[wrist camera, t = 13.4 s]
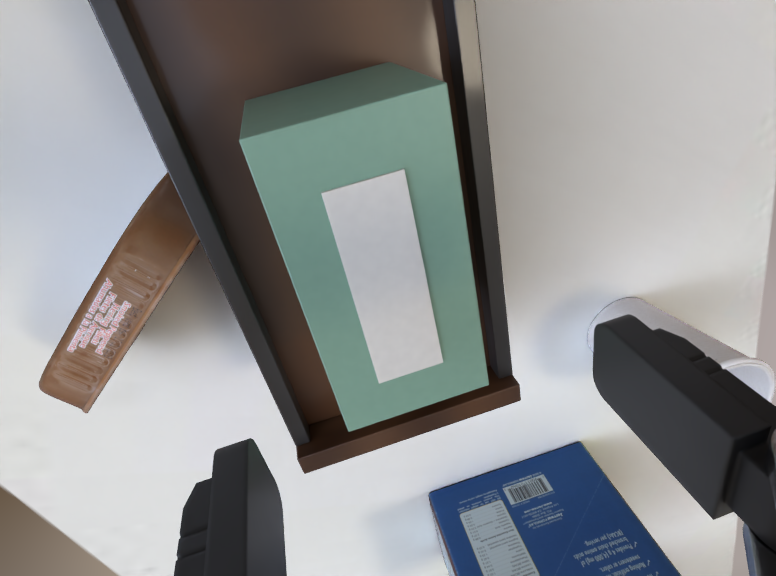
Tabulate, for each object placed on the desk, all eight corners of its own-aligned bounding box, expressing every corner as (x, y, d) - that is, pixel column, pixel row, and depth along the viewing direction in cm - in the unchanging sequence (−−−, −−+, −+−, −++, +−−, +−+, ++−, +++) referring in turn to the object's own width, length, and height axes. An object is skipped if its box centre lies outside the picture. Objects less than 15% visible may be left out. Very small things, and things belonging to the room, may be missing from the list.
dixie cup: (684, 309, 40) (799, 389, 32) (612, 382, 42) (701, 474, 34) (626, 264, 36) (739, 340, 28) (551, 346, 39) (634, 440, 30)
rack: (292, 357, 33) (304, 474, 25) (118, -64, 21) (23, -116, 12) (456, 305, 34) (521, 400, 26) (385, -125, 22) (465, -213, 13)
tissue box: (327, 334, 24) (348, 434, 18) (244, 100, 18) (238, 140, 12) (436, 299, 24) (490, 386, 18) (390, 61, 18) (448, 82, 13)
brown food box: (129, 348, 31) (77, 452, 24) (78, 326, 30) (6, 429, 23) (253, 158, 26) (234, 218, 19) (198, 122, 25) (156, 172, 18)
